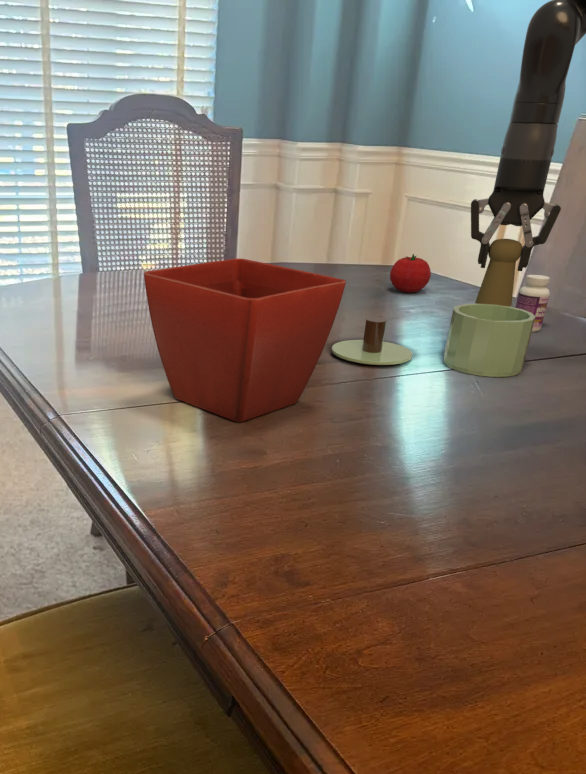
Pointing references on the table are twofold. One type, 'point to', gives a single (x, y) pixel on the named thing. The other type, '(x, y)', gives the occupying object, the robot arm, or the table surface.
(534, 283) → the pill bottle
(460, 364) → the pot
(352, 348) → the pot lid
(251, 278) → the flower pot
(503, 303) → the pepper mill
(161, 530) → the table surface
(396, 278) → the tomato
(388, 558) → the table surface
